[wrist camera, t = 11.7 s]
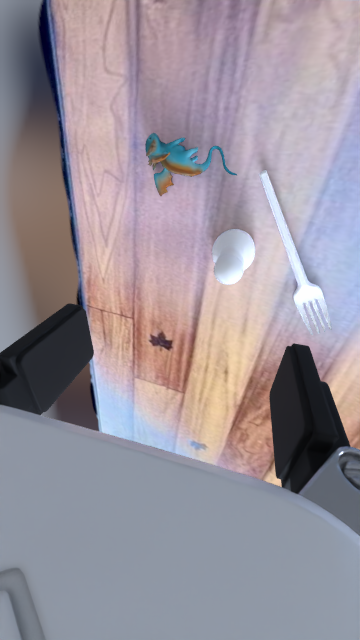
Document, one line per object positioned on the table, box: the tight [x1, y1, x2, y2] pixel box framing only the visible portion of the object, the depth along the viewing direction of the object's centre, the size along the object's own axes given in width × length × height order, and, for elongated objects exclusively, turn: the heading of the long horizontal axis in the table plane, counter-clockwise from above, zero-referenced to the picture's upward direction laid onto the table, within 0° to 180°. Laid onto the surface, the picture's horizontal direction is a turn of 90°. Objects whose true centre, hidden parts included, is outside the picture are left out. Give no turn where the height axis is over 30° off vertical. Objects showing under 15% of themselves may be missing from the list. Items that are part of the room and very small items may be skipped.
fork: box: [259, 170, 332, 335], centre depth 27 cm, size 3×20×2 cm, turn 30°
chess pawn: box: [212, 229, 255, 285], centre depth 26 cm, size 5×5×9 cm
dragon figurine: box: [146, 133, 237, 196], centre depth 25 cm, size 6×7×8 cm
